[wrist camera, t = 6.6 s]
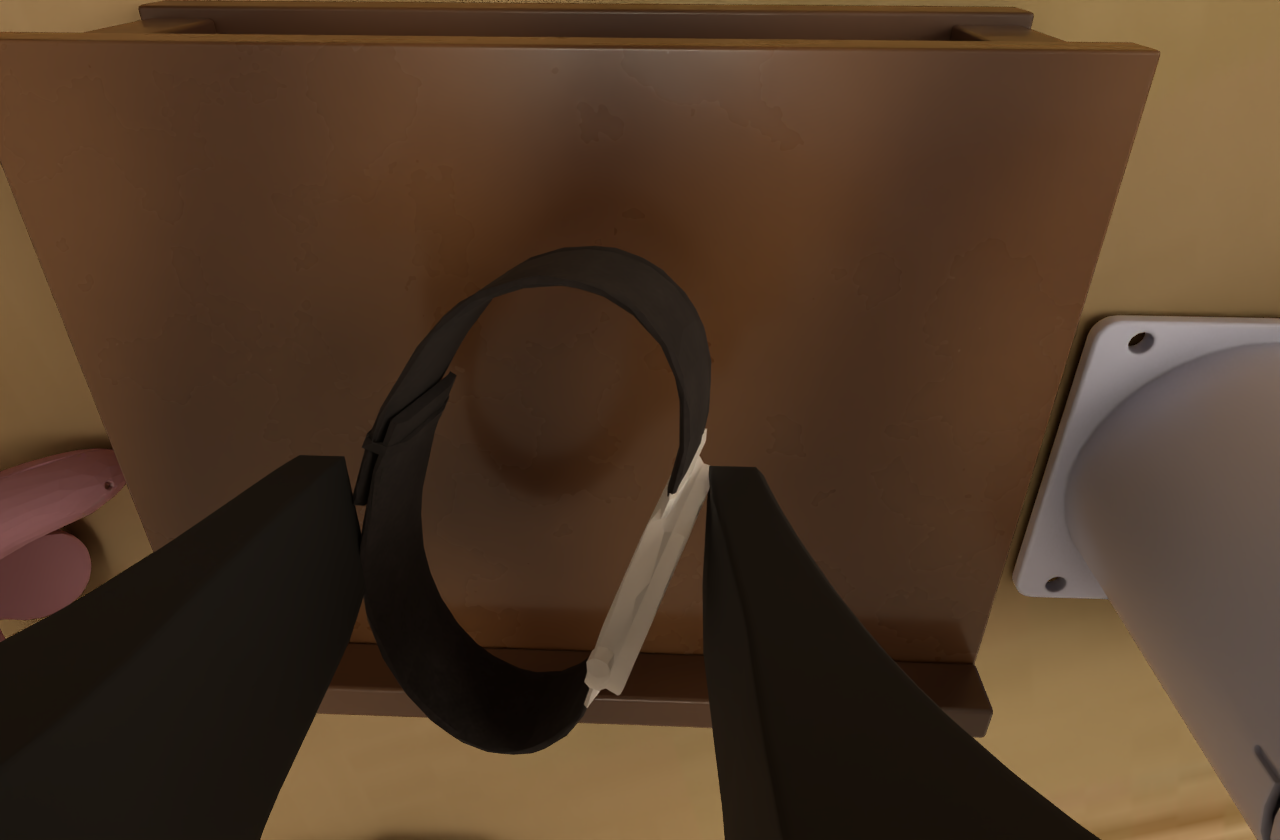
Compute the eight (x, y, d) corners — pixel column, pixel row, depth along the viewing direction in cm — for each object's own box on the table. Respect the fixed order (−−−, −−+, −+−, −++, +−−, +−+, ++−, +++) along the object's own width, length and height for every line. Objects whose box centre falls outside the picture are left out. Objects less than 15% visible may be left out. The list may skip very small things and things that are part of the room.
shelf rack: (1017, 6, 15) (1214, 65, 10) (906, 520, 22) (986, 739, 16) (164, -1, 16) (-124, 51, 10) (297, 503, 22) (165, 709, 17)
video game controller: (38, 409, 23) (-290, 573, 18) (136, 437, 21) (-207, 632, 16) (184, 662, 28) (-39, 845, 23) (275, 706, 26) (51, 918, 21)
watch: (624, 669, 15) (610, 872, 12) (357, 605, 14) (268, 800, 11) (793, 275, 11) (839, 424, 8) (432, 163, 10) (325, 276, 7)
